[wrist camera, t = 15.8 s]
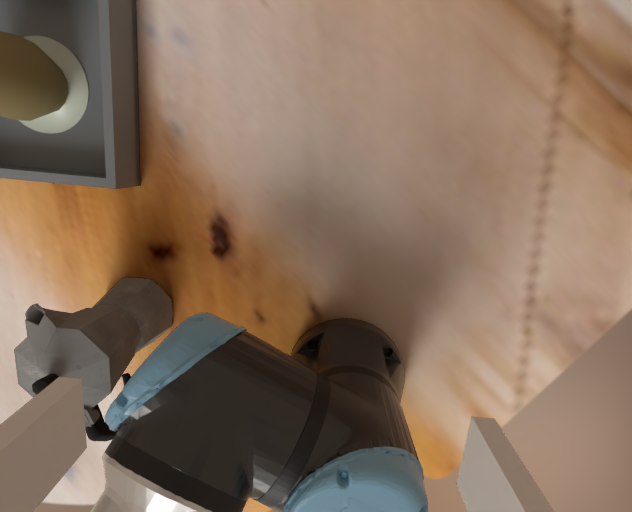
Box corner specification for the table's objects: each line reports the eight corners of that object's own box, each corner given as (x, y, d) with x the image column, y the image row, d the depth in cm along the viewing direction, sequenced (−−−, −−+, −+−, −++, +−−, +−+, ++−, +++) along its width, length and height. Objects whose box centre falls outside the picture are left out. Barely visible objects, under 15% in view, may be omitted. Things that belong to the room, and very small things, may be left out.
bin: (140, 185, 46) (115, 188, 40) (-26, 169, 46) (-72, 171, 40) (135, -4, 41) (107, -29, 35) (-50, -22, 41) (-107, -49, 35)
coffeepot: (85, 273, 49) (-50, 336, 31) (152, 251, 48) (52, 305, 30) (135, 376, 52) (39, 485, 35) (198, 357, 51) (132, 461, 34)
